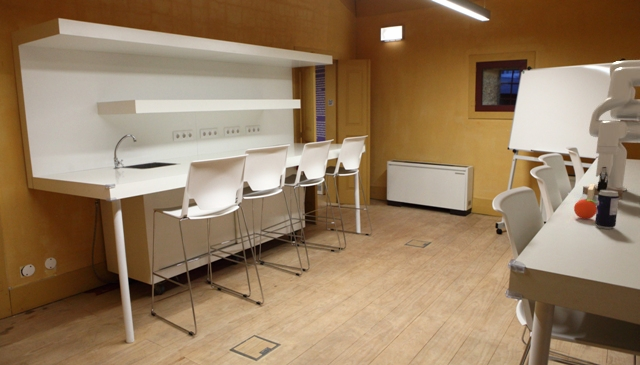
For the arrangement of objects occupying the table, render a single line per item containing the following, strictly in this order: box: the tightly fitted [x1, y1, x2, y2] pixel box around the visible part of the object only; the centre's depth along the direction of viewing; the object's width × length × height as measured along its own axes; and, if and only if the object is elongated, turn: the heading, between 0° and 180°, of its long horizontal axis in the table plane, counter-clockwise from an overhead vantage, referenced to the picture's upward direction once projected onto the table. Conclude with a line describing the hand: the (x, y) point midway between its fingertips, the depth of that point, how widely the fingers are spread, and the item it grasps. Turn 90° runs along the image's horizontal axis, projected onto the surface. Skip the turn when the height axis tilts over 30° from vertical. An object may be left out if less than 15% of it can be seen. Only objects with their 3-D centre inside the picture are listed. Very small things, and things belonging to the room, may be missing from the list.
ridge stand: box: [578, 183, 598, 207], centre depth 190 cm, size 18×7×6 cm, turn 146°
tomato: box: [573, 199, 597, 220], centre depth 161 cm, size 8×7×7 cm
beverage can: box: [594, 190, 620, 230], centre depth 149 cm, size 6×6×12 cm
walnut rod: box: [582, 185, 624, 199], centre depth 199 cm, size 4×14×4 cm, turn 73°
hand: (602, 190), depth 198 cm, fingers open, 9 cm apart
